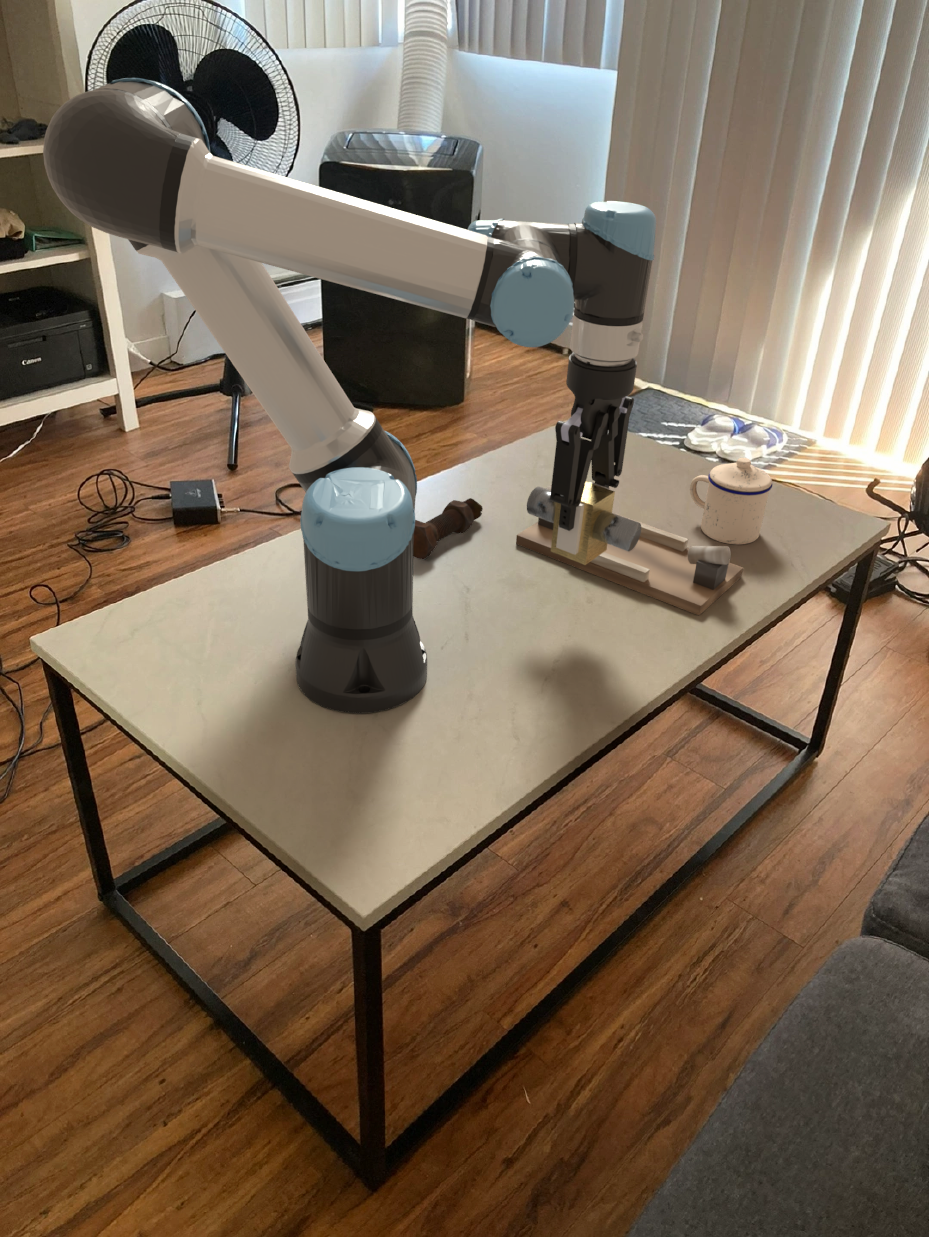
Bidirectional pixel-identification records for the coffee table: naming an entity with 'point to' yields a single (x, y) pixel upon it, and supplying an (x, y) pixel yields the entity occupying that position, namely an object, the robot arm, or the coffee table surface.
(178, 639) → the coffee table surface
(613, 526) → the universal joint
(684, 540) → the coupling cradle
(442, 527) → the bolt
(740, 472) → the teacup with lid
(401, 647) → the robot arm
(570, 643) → the coffee table surface
